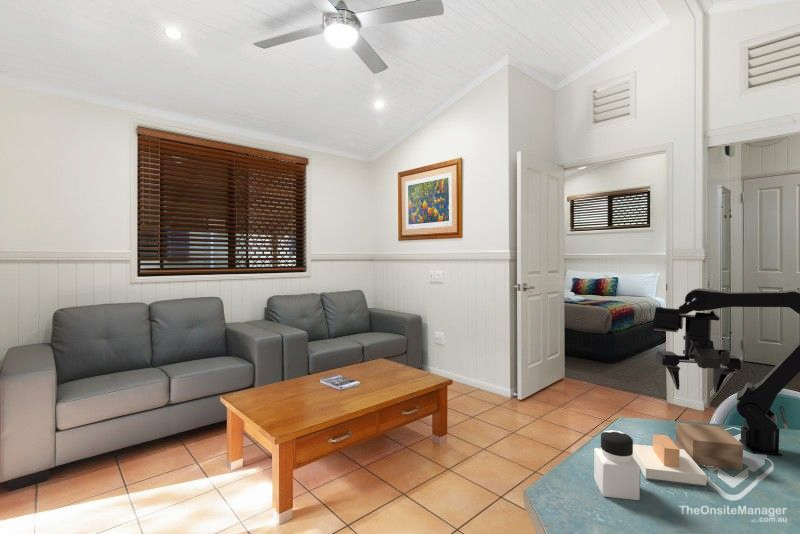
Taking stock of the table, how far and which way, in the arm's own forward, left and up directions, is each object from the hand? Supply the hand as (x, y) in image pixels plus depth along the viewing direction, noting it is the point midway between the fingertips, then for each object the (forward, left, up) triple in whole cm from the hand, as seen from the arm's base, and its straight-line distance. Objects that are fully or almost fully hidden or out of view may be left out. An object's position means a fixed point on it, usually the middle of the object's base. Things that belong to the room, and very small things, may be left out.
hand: (696, 390), depth 112 cm
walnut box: (+3, +14, -12) cm, 19 cm away
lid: (+15, +23, -10) cm, 29 cm away
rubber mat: (+15, +23, -12) cm, 30 cm away
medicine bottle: (+28, +34, -12) cm, 46 cm away
